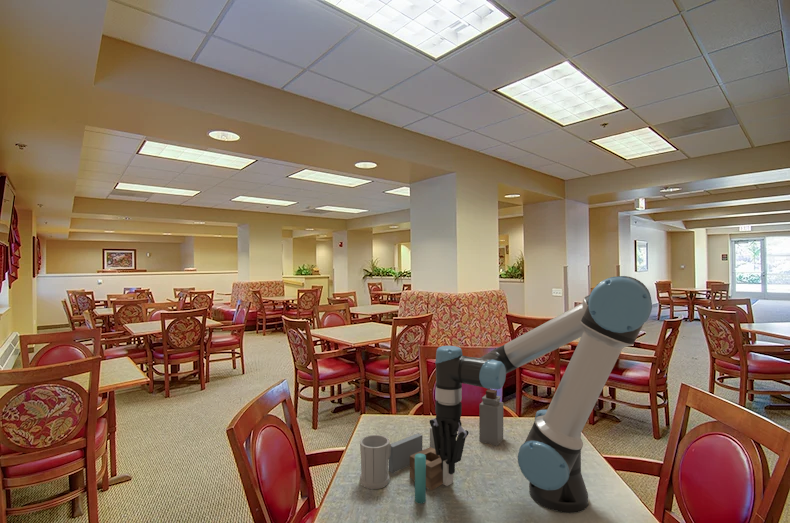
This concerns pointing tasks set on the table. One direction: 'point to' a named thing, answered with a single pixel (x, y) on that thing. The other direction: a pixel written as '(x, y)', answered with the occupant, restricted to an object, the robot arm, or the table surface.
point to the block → (429, 468)
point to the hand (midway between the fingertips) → (448, 483)
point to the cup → (374, 461)
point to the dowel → (420, 478)
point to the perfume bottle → (491, 418)
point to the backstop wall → (404, 452)
